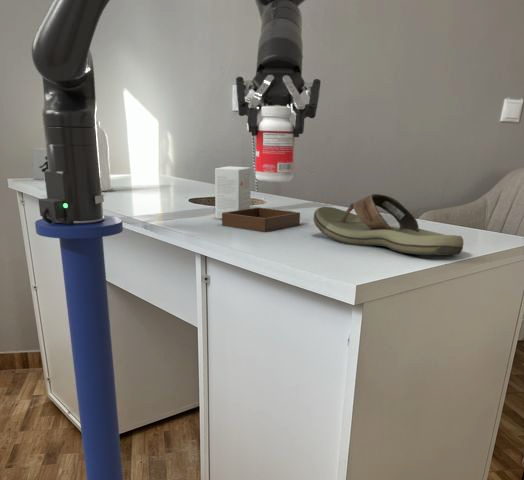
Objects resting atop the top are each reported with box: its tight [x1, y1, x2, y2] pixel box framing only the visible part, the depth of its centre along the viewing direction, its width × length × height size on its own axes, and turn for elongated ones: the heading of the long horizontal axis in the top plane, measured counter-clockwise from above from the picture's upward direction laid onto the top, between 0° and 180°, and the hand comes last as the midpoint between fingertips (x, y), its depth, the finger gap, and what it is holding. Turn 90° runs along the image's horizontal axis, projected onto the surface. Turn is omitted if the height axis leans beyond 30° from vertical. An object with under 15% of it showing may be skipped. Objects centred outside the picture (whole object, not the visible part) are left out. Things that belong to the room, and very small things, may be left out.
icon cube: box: [30, 147, 49, 180], centre depth 199 cm, size 10×10×10 cm
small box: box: [214, 165, 252, 220], centre depth 122 cm, size 8×6×10 cm
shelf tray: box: [221, 206, 301, 233], centre depth 114 cm, size 12×11×2 cm
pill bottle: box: [254, 106, 296, 183], centre depth 89 cm, size 6×6×11 cm
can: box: [95, 118, 112, 193], centre depth 164 cm, size 12×12×20 cm
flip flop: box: [313, 193, 464, 256], centre depth 95 cm, size 29×12×8 cm, turn 37°
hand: (275, 132), depth 86 cm, fingers closed on pill bottle, 6 cm apart
